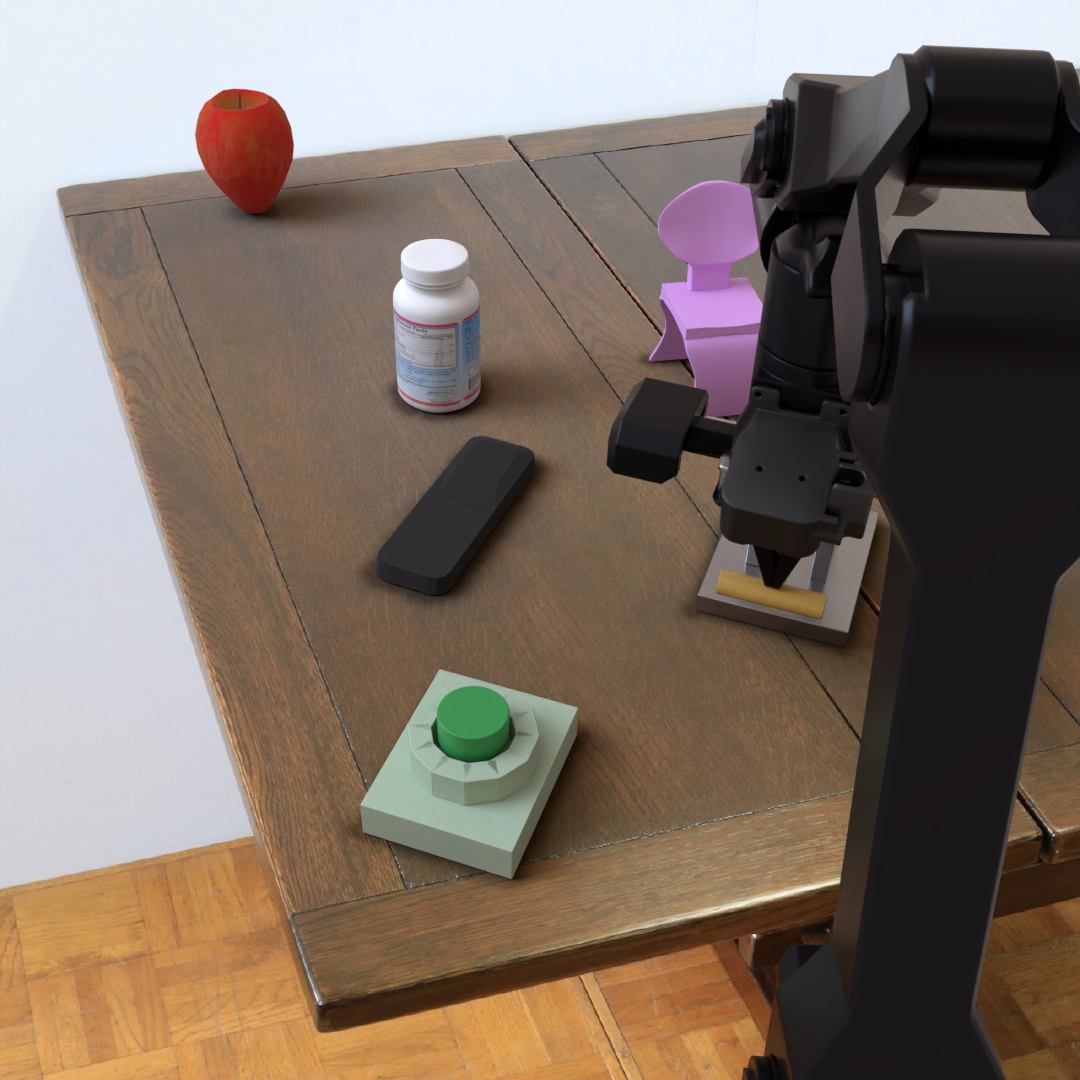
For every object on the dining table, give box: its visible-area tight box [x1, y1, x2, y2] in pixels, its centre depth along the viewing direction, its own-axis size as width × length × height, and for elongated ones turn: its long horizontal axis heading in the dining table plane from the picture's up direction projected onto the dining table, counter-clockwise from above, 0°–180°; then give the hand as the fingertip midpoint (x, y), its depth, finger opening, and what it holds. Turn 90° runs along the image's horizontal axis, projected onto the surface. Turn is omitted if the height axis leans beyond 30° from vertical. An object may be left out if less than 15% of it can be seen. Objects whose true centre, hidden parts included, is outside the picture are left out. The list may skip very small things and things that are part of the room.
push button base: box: [360, 668, 579, 880], centre depth 68 cm, size 10×8×4 cm
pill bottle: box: [392, 238, 482, 414], centre depth 93 cm, size 6×6×11 cm
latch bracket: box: [695, 510, 880, 648], centre depth 80 cm, size 12×9×10 cm
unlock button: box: [437, 686, 509, 762], centre depth 66 cm, size 4×4×2 cm
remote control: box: [375, 435, 537, 596], centre depth 85 cm, size 5×2×15 cm
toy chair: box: [648, 179, 763, 418], centre depth 94 cm, size 8×9×15 cm
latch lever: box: [716, 553, 828, 620], centre depth 76 cm, size 11×6×2 cm, turn 160°
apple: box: [194, 88, 295, 215], centre depth 115 cm, size 9×8×11 cm
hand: (773, 583), depth 73 cm, fingers closed, pressing on latch lever
